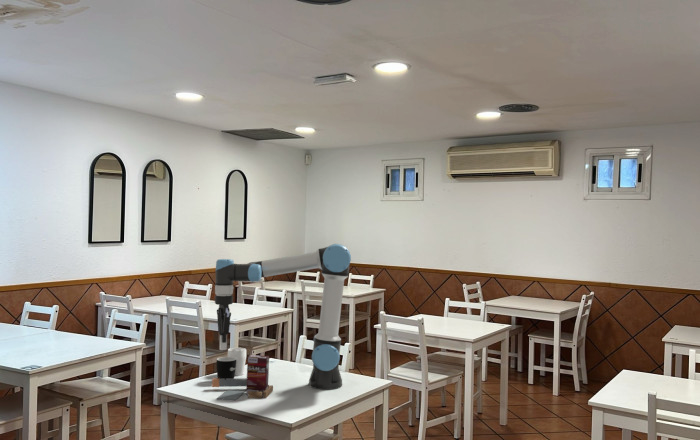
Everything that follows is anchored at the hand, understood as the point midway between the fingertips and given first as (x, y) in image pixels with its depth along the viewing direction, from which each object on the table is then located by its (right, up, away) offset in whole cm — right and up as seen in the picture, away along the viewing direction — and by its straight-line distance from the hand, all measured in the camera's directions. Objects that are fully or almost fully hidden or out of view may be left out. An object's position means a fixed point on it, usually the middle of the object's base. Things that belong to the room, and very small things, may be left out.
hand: (223, 349), depth 244 cm
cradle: (+15, -18, -1) cm, 24 cm away
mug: (-2, -19, +19) cm, 27 cm away
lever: (+4, -18, +4) cm, 19 cm away
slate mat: (+5, -18, -6) cm, 20 cm away
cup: (0, -19, +30) cm, 36 cm away
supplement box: (+15, -19, -3) cm, 24 cm away
